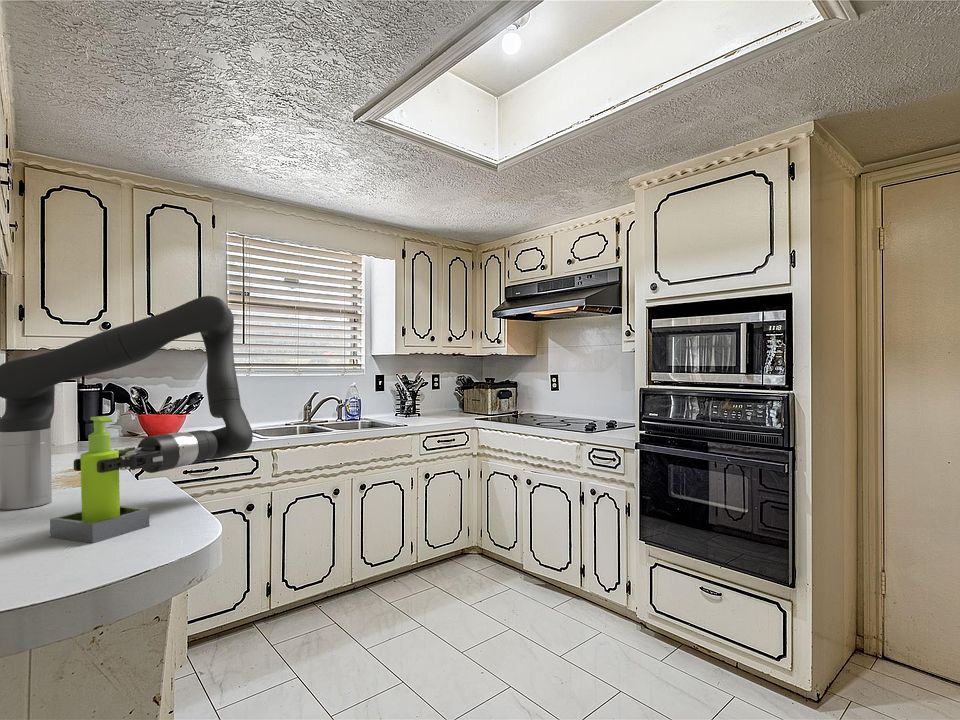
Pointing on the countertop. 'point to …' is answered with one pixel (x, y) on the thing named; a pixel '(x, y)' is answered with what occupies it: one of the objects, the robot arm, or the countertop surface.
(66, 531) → the metal tray
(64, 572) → the countertop surface
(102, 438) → the soap dispenser
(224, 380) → the robot arm
